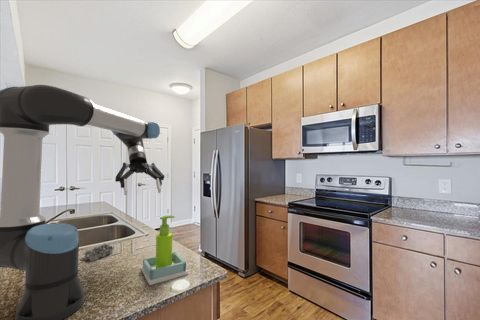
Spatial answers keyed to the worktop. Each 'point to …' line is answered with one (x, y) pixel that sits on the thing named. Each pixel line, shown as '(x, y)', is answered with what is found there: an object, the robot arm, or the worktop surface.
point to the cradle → (163, 269)
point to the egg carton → (98, 252)
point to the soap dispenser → (164, 244)
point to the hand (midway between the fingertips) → (143, 192)
